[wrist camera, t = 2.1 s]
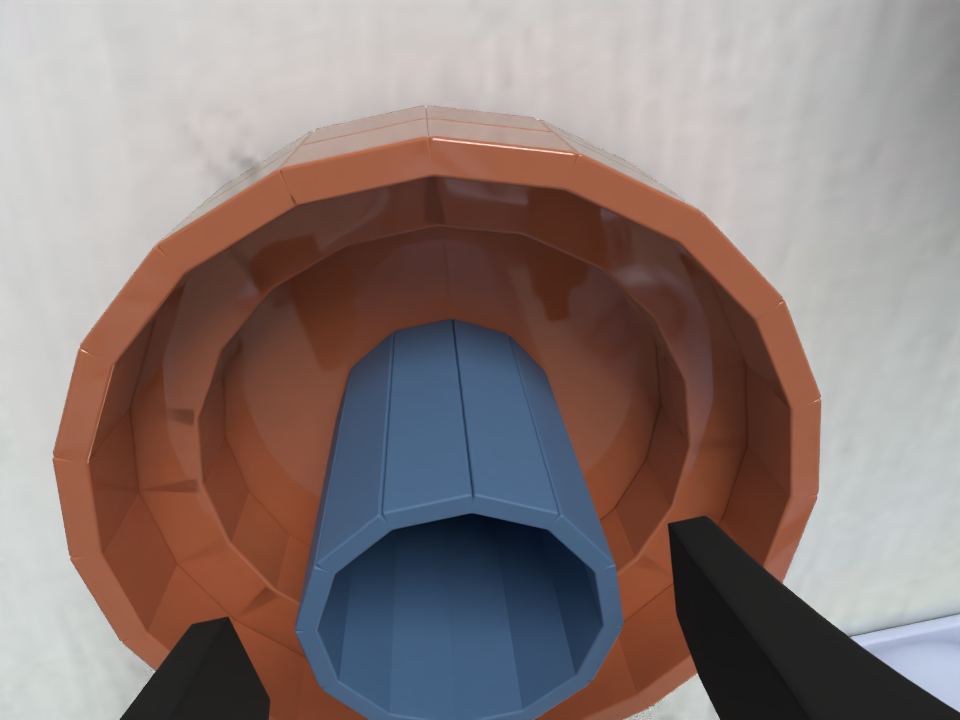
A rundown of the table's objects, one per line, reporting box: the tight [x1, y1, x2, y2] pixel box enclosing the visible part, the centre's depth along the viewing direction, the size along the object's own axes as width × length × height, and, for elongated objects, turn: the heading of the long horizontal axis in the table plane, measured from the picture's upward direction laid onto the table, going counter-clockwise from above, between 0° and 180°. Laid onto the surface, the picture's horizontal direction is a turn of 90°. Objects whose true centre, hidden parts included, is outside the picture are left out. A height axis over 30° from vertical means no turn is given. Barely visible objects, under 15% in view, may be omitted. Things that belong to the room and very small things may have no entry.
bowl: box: [53, 106, 821, 720], centre depth 15 cm, size 14×14×4 cm
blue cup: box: [295, 319, 624, 720], centre depth 14 cm, size 5×5×6 cm
